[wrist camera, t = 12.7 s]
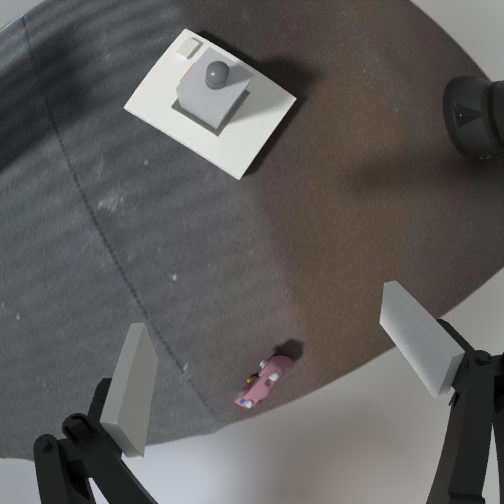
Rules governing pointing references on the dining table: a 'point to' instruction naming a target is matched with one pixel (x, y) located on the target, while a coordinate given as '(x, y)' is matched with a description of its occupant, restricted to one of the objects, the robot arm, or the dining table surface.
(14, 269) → the dining table surface
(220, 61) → the plug
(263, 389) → the video game controller
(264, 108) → the socket plate
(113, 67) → the dining table surface
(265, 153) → the dining table surface
